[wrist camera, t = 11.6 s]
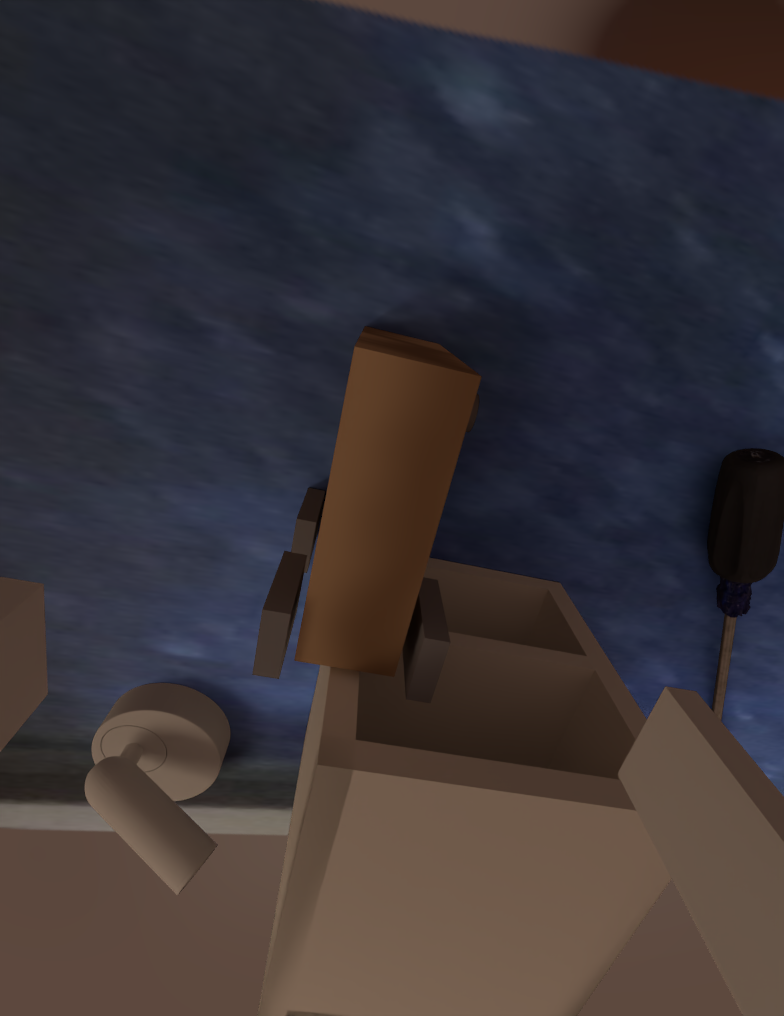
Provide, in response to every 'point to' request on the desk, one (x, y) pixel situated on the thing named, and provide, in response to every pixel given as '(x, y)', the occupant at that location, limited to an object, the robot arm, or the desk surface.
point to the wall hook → (158, 774)
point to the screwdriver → (743, 539)
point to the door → (384, 498)
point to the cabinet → (458, 809)
